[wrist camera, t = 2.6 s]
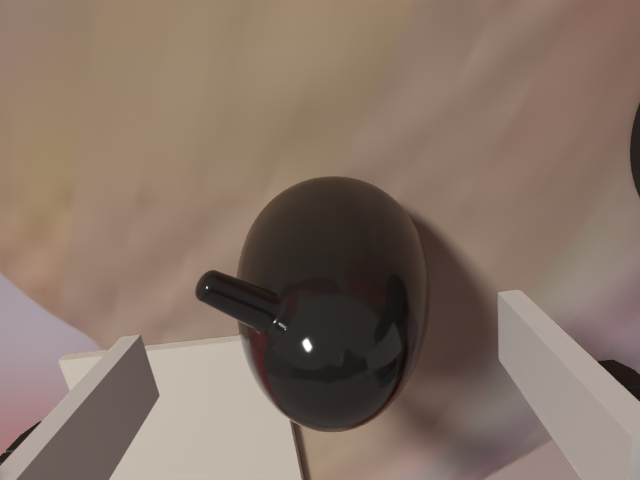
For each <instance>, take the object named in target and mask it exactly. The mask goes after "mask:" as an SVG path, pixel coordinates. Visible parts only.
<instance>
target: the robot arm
mask: <svg viewBox="0 0 640 480" xmlns="http://www.w3.org/2000/svg"><path fill="white" fill-rule="evenodd" d="M630 154H631V167H632V173H633V178H634V181H635V185H636V188H637V190H638V193H639V195H640V104H639V107H638V110H637V112H636V116H635V120H634V124H633V129H632V136H631V149H630ZM498 348H499V361H500V362H501V363H502V365H503V366H504V368H505V369H506V371H507V372H508V374H509V375H510V377H511V378H512V380H513V381H514V383H515V384H516V386H517V387H518V388H519V390H520V391H521V393H522V394H523V396H524V397H525V399H526V400H527V402H528V403H529V405H530V406H531V408H532V409H533V411H534V412H535V413H536V415H537V416H538V418H539V419H540V421H541V422H542V424H543V425H544V427H545V428H546V430H547V431H548V433H549V434H550V435H551V437H552V438H553V440H554V441H555V443H556V444H557V445H558V447H559V449H560V450H561V452H562V453H563V455H564V456H565V458H566V459H567V460H568V462H569V463H570V465H571V466H572V468H573V469H574V471H575V472H576V474H577V475H578V477H579V478H580V480H640V375H639V374H638V373H637V372H636V371H635V370H633V369H631V368H629V367H627V366H625V365H623V364H621V363H619V362H617V361H615V360H606V361H596V360H595V359H593V358H592V357H591V356H590V355H589V354H588V353H587V352H586V351H585V350H584V349H583V348H582V347H581V346H580V345H579V344H577V343H576V342H575V341H574V340H573V339H572V338H571V337H570V336H569V335H568V334H567V333H566V332H565V331H564V330H562V329H561V328H560V327H559V326H558V325H557V324H556V323H555V322H554V321H553V320H552V319H551V318H550V317H549V316H548V315H546V314H545V313H544V312H543V311H542V310H541V309H540V308H539V307H538V306H537V305H536V304H535V303H534V302H533V301H531V300H530V299H529V298H528V297H527V296H526V295H525V294H524V293H523V292H522V291H521V290H513V291H504V292H498ZM159 396H160V395H159V391H158V388H157V385H156V382H155V379H154V376H153V372H152V369H151V366H150V363H149V360H148V357H147V353H146V350H145V347H144V344H143V341H142V338H141V335H134V336H126V337H121V338H120V339H119V340H118V341H117V342H116V343H115V344H114V345H113V346H112V347H111V348H110V349H109V350H108V352H107V353H106V354H105V355H104V356H103V357H102V358H101V359H100V360H99V361H98V362H97V363H96V364H95V365H94V366H93V368H92V369H91V370H90V371H89V372H88V373H87V374H86V375H85V376H84V377H83V378H82V379H81V380H80V381H79V382H78V384H77V385H76V386H75V387H74V388H73V389H72V390H71V391H70V392H69V393H68V394H67V395H66V396H65V397H64V399H62V401H61V402H60V403H59V404H58V405H57V406H56V407H55V408H54V409H53V410H52V411H51V412H50V414H48V415H47V417H46V418H45V419H44V420H43V421H40V422H38V423H37V424H35V425H34V426H33V427H31V428H30V429H29V430H27V431H26V432H24V433H23V434H22V435H20V436H19V437H18V439H16V441H15V442H14V443H13V444H12V445H11V446H10V447H9V448H8V449H7V450H6V453H3V454H2V455H1V456H0V480H109V479H110V477H111V476H112V474H113V472H114V471H115V469H116V467H117V466H118V464H119V462H120V461H121V459H122V458H123V456H124V454H125V453H126V451H127V449H128V448H129V446H130V444H131V443H132V441H133V439H134V438H135V436H136V434H137V433H138V431H139V429H140V428H141V426H142V425H143V423H144V421H145V420H146V418H147V416H148V415H149V413H150V411H151V410H152V408H153V406H154V405H155V403H156V401H157V400H158V398H159Z"/></svg>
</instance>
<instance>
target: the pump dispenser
mask: <svg viewBox="0 0 640 480" xmlns="http://www.w3.org/2000/svg"><path fill="white" fill-rule="evenodd" d="M195 294H196V298H197V299H198V300H199V301H200V302H202V303H204V304H206V305H208V306H210V307H212V308H214V309H216V310H218V311H220V312H222V313H224V314H226V315H228V316H230V317H232V318H234V319H236V320H237V321H238V328H239V334H240V339H241V343H242V347H243V351H244V354H245V357H246V360H247V363H248V366H249V368H250V371H251V373H252V375H253V377H254V379H255V381H256V383H257V384H258V386H259V388H260V389H261V391H262V392H263V394H264V395H265V396H266V398H267V399H268V400H269V401H270V403H271V404H272V405H273V406H274V407H275V408H276V409H277V410H278V411H279V412H280V413H281V414H283V415H284V416H285V417H287V418H288V419H289V420H291V421H293V422H294V423H296V424H298V425H300V426H303V427H305V428H308V429H311V430H316V431H321V432H342V431H348V430H352V429H355V428H358V427H360V426H363V425H365V424H367V423H369V422H370V421H372V420H374V419H375V418H376V417H378V416H379V415H380V414H382V413H383V412H384V411H385V410H386V409H387V408H388V407H389V406H390V405H391V404H392V403H393V402H394V400H395V399H396V398H397V397H398V395H399V394H400V393H401V391H402V390H403V388H404V387H405V385H406V383H407V382H408V380H409V378H410V376H411V374H412V372H413V370H414V368H415V365H416V363H417V360H418V358H419V355H420V352H421V349H422V346H423V342H424V339H425V334H426V330H427V324H428V318H429V309H430V280H429V271H428V265H427V260H426V255H425V250H424V247H423V243H422V240H421V238H420V235H419V233H418V231H417V228H416V227H415V225H414V223H413V221H412V220H411V218H410V217H409V215H408V214H407V212H406V211H405V210H404V209H403V207H402V206H401V205H400V204H399V203H398V202H397V201H396V200H395V199H394V198H392V197H391V196H390V195H389V194H387V193H386V192H384V191H383V190H381V189H379V188H378V187H376V186H374V185H372V184H369V183H367V182H364V181H361V180H357V179H353V178H348V177H339V176H329V177H319V178H314V179H310V180H306V181H303V182H300V183H298V184H296V185H293V186H291V187H289V188H288V189H286V190H284V191H283V192H281V193H280V194H278V195H277V196H276V197H275V198H274V199H272V200H271V201H270V202H269V203H268V204H267V205H266V206H265V207H264V209H263V210H262V211H261V212H260V214H259V215H258V216H257V218H256V219H255V221H254V223H253V224H252V226H251V228H250V230H249V232H248V234H247V237H246V239H245V242H244V245H243V249H242V252H241V256H240V260H239V265H238V270H237V278H235V277H232V276H229V275H226V274H224V273H221V272H218V271H215V270H211V271H208V272H206V273H205V274H204V275H203V276H202V277H201V278H200V279H199V281H198V283H197V286H196V290H195Z"/></svg>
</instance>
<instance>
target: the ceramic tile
mask: <svg viewBox="0 0 640 480" xmlns="http://www.w3.org/2000/svg"><path fill="white" fill-rule="evenodd" d="M144 347H145V350H146V353H147V357H148V360H149V363H150V366H151V369H152V372H153V376H154V379H155V382H156V385H157V388H158V391H159V395H160V396H159V398H158V400H157V401H156V403H155V405H154V406H153V408H152V410H151V411H150V413H149V415H148V416H147V418H146V420H145V421H144V423H143V425H142V426H141V428H140V429H139V431H138V433H137V434H136V436H135V438H134V439H133V441H132V443H131V444H130V446H129V448H128V449H127V451H126V453H125V454H124V456H123V458H122V459H121V461H120V462H119V464H118V466H117V467H116V469H115V471H114V472H113V474H112V476H111V477H110V479H109V480H304V476H303V471H302V466H301V461H300V456H299V451H298V446H297V441H296V436H295V431H294V426H293V421H291V420H289V419H288V418H287V417H285V416H284V415H283V414H281V413H280V412H279V411H278V410H277V409H276V408H275V407H274V406H273V405H272V404H271V403H270V401H269V400H268V399H267V398H266V396H265V395H264V394H263V392H262V391H261V389H260V388H259V386H258V384H257V383H256V381H255V379H254V377H253V375H252V373H251V371H250V368H249V366H248V363H247V360H246V357H245V354H244V351H243V347H242V343H241V339H240V335H238V336H229V337H220V338H211V339H202V340H193V341H183V342H174V343H165V344H156V345H147V346H144ZM107 352H108V350H102V351H93V352H84V353H75V354H66V355H64V356H63V357H62V358H61V359H60V360H59V364H60V366H61V369H62V372H63V374H64V377H65V379H66V382H67V385H68V387H69V389H70V391H71V390H72V389H73V388H74V387H75V386H76V385H77V384H78V382H79V381H80V380H81V379H82V378H83V377H84V376H85V375H86V374H87V373H88V372H89V371H90V370H91V369H92V368H93V366H94V365H95V364H96V363H97V362H98V361H99V360H100V359H101V358H102V357H103V356H104V355H105V354H106V353H107Z"/></svg>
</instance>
